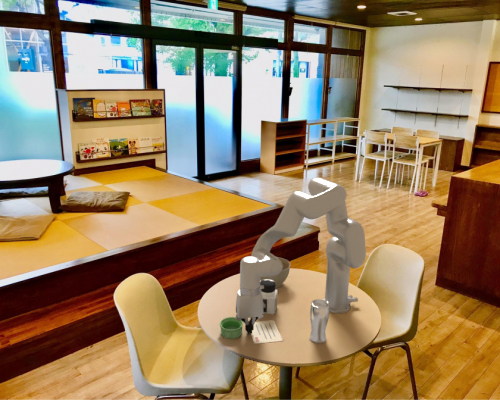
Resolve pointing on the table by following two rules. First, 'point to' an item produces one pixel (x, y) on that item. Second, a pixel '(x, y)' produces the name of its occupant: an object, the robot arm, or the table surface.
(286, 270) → the planter bowl
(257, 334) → the letter
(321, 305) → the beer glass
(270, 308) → the container
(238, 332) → the ramekin
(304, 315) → the table surface
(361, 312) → the table surface
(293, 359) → the table surface
